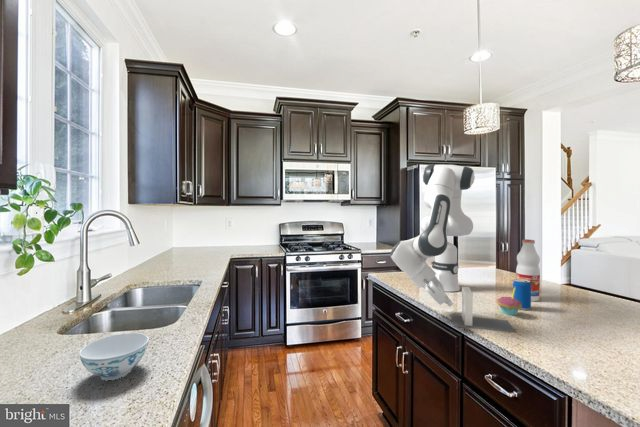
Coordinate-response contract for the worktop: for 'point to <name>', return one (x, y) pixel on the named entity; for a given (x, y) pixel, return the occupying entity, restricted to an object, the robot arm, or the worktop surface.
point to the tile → (467, 305)
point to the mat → (484, 324)
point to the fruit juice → (529, 267)
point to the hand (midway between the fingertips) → (451, 304)
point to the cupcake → (509, 304)
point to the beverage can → (523, 292)
